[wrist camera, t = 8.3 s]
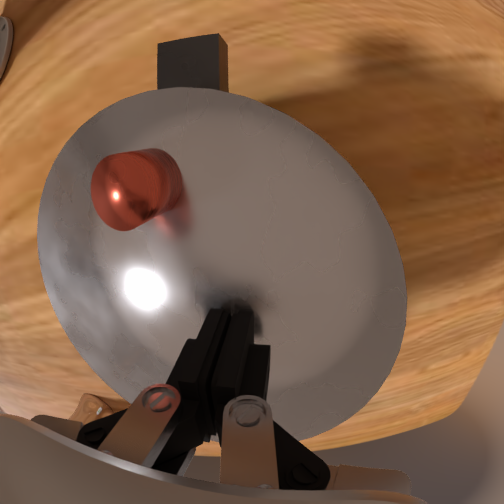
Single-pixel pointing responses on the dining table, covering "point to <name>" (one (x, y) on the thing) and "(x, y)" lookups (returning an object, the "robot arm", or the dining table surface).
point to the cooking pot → (193, 63)
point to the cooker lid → (222, 250)
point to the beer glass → (90, 409)
